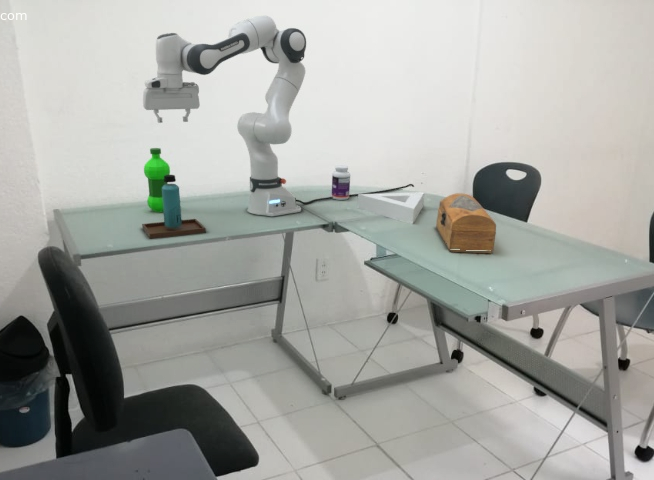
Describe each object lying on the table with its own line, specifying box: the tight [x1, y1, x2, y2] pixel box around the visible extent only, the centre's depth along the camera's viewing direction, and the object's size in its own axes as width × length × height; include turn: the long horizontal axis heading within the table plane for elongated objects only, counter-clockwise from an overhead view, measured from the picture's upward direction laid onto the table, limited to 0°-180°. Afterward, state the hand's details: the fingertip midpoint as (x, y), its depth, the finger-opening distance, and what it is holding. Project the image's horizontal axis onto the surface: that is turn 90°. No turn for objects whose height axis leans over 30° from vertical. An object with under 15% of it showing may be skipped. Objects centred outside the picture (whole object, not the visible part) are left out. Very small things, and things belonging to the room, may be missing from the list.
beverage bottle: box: [162, 174, 183, 228], centre depth 219 cm, size 6×7×20 cm
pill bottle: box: [331, 165, 351, 201], centre depth 270 cm, size 8×8×14 cm
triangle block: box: [357, 191, 425, 225], centre depth 255 cm, size 30×26×6 cm
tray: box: [141, 218, 206, 240], centre depth 223 cm, size 20×13×2 cm, turn 115°
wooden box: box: [435, 192, 497, 254], centre depth 217 cm, size 30×16×14 cm, turn 176°
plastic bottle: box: [143, 147, 171, 213], centre depth 244 cm, size 10×10×25 cm
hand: (172, 122), depth 222 cm, fingers open, 8 cm apart
